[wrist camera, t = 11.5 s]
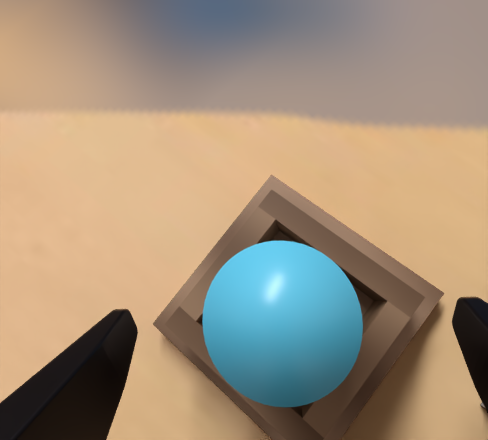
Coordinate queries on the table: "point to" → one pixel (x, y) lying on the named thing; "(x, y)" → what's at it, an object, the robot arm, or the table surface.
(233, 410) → the table surface
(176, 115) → the table surface
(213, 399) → the table surface
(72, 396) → the robot arm
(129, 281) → the table surface
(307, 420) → the low dock
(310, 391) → the plug
